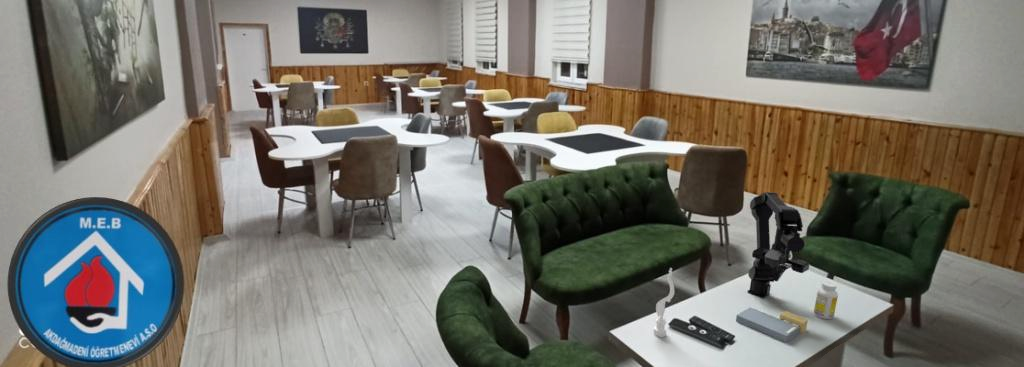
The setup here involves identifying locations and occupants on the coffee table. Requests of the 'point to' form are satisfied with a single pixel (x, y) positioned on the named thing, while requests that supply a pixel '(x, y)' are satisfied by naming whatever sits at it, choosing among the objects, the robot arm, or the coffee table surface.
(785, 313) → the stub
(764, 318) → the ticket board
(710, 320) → the coffee table surface
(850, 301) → the coffee table surface
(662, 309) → the decorative finial
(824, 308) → the supplement bottle
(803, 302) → the coffee table surface
